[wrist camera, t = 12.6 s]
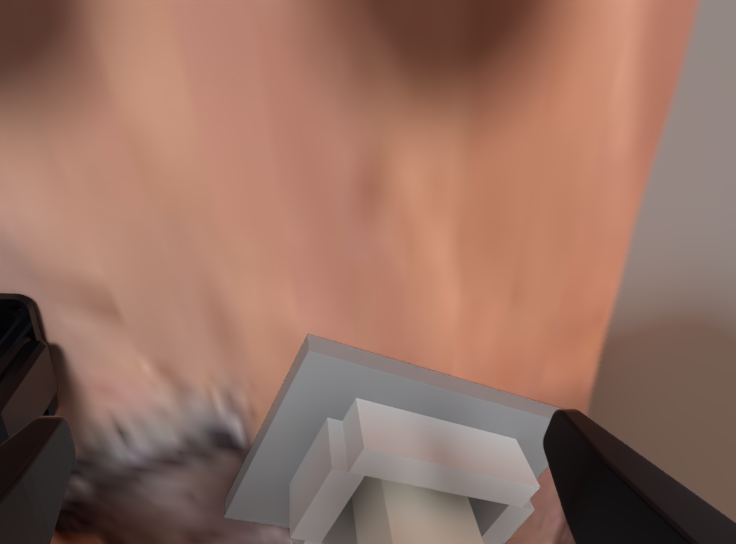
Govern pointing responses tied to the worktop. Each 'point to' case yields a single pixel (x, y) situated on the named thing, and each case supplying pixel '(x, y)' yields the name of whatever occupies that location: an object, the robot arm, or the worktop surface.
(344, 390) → the hinge base
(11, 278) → the worktop surface
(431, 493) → the cream rectangular block
